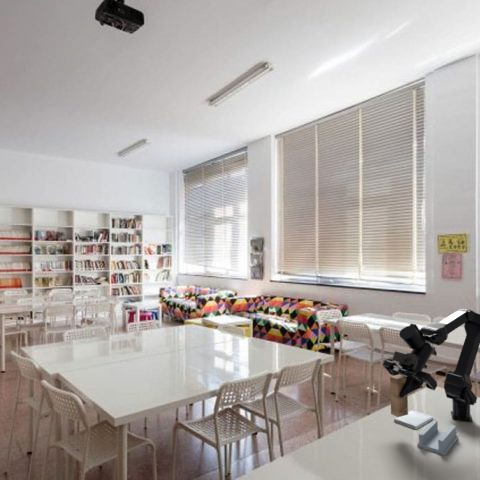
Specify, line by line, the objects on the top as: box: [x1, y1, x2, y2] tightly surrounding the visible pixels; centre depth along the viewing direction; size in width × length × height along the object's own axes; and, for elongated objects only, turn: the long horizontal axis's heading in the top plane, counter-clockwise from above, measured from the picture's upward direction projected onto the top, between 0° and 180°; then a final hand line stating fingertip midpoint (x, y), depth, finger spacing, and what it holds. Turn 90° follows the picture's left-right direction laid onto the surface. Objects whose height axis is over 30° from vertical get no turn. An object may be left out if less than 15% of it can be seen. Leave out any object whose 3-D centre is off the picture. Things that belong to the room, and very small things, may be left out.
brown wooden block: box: [389, 374, 409, 418], centre depth 134 cm, size 4×3×12 cm, turn 116°
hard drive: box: [393, 409, 434, 430], centre depth 144 cm, size 2×8×12 cm
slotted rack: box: [417, 419, 459, 456], centre depth 128 cm, size 14×8×4 cm, turn 137°
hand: (396, 395), depth 133 cm, fingers closed on brown wooden block, 3 cm apart
